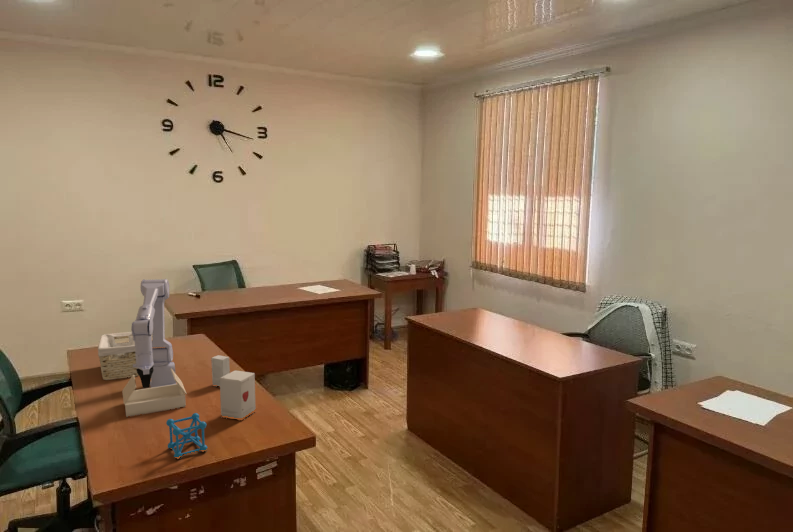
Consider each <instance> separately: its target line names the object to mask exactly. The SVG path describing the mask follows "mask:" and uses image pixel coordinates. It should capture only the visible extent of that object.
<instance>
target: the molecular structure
mask: <svg viewBox="0 0 793 532" xmlns="http://www.w3.org/2000/svg"><path fill="white" fill-rule="evenodd" d="M188 420H192V421H191V422H190V425H189V427H185V428H180V427H179V426H177V425H176V424H175V423H178V422H179V423H180V422H184V421H188ZM207 425H208V424H207V422H206V421H204V420H203V421H201V420H200V414H199V413H197V412H195V413H192V415H191V416H188V417H183V418H179V419H175V420H174V419H173V418H168V419H167V420H166V426H167V427H168V428H169V429H168V430H169V443H168V444H167V449H169V448H172V451H173V453H174V454H173V458H174V457H179V456H182V455H183V454H186V455H188V454H187V453H190V454H192V453H191V452H194V453H196V452H195V451H198V452H200V451H199V450H206V449H207V448H208V446H207V445H206V443H205V441H206V440H205V429H206V428H207ZM199 430H201V437H200V436H199V434H198V431H199ZM192 434H194V436H193V435H192ZM179 435H181V436H182V437H181V438H179ZM173 436H175V441H174V442H173ZM199 440H200V441H199ZM188 443H194V444H195V445H197V446H198V447H199V448H196V449H192V450H189V451H185V452H182V451H183V448H184V447H185V444H188ZM180 444H181V445H180ZM174 447H175V448H174ZM207 450H208V449H207ZM183 456H184V455H183ZM183 456H182V457H183Z"/></svg>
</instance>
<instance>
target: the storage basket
mask: <svg viewBox="0 0 793 532" xmlns="http://www.w3.org/2000/svg"><path fill="white" fill-rule="evenodd" d="M120 339H121V340H123V339H128V341H126V342H116V340H120ZM97 356H98V358H99V365H100V372H101V376H102V380H103V381H104V380H105V381H110V380H116V379H117V380H118V379H128V378H131V377H132V376H133V375H134V376H135V377H139V375H138V373H137V370H136V369H138V368H137V367H133V364H136V355H135V341H133V335H132V331H124V332H123V331H122V332H115V333H114V332H113V333H105V334H101V336H100V338H99V341H98V345H97ZM127 377H128V378H127Z"/></svg>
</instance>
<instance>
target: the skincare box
mask: <svg viewBox="0 0 793 532" xmlns="http://www.w3.org/2000/svg"><path fill="white" fill-rule="evenodd" d="M210 361H211V376H212V377H211V379H212V381H211V382H212V386H213V385H217V386H220V378H221V377H223V376H225V375H226V374H228V373H231V369H230V357H229V356H225V355H219V354H218V355H215V356H213V357H211V360H210ZM217 386H216V387H217Z"/></svg>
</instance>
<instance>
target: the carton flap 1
mask: <svg viewBox="0 0 793 532" xmlns="http://www.w3.org/2000/svg"><path fill="white" fill-rule="evenodd" d="M135 377H136V376H134V375H133V376H132V377H130V379H128V382H127V383H126V385H125V386H124V388H122V399H123V400H122V401H123V405H125V403H126V402H127V400H128V399H129V397H130V396H131V394H132V393H133V391H134V390H137V389H136V388H137V383H136V378H135Z"/></svg>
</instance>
